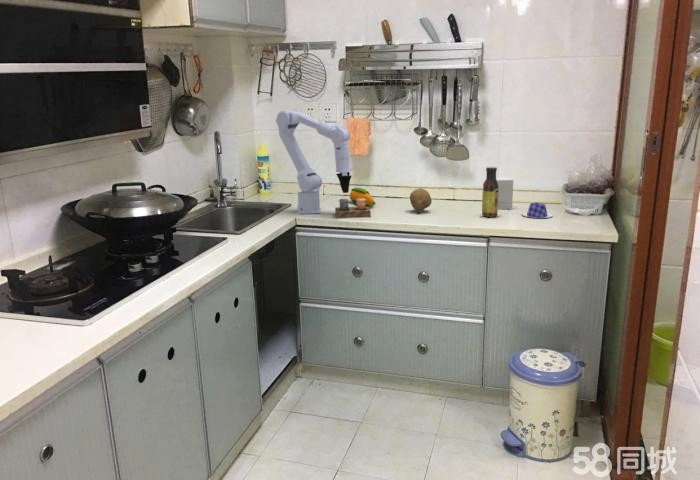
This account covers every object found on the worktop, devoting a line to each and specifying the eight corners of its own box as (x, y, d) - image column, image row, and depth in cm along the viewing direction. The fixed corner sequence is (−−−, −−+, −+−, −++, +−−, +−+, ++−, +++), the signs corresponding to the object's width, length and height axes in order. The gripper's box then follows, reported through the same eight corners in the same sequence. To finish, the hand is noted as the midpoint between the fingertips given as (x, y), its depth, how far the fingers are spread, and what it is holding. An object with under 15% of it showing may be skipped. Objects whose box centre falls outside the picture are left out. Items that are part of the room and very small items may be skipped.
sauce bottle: (497, 218, 236) (500, 168, 231) (481, 217, 237) (483, 168, 232) (497, 214, 242) (499, 166, 237) (481, 214, 243) (483, 166, 238)
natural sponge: (426, 208, 255) (427, 186, 252) (434, 213, 246) (435, 189, 244) (406, 210, 252) (407, 187, 250) (414, 214, 244) (414, 191, 241)
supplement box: (512, 209, 251) (514, 179, 248) (494, 209, 251) (496, 180, 248) (508, 205, 258) (509, 177, 255) (491, 205, 258) (492, 177, 255)
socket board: (336, 218, 241) (336, 212, 240) (335, 213, 249) (335, 207, 249) (370, 217, 242) (370, 211, 241) (368, 212, 250) (368, 206, 250)
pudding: (559, 217, 236) (560, 204, 235) (535, 221, 232) (536, 208, 230) (538, 211, 247) (539, 199, 245) (515, 215, 242) (516, 202, 241)
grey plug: (339, 210, 242) (339, 200, 241) (339, 208, 246) (338, 199, 245) (349, 210, 243) (349, 200, 242) (348, 208, 246) (348, 198, 245)
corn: (359, 183, 273) (380, 190, 256) (360, 199, 275) (382, 207, 258) (345, 186, 270) (365, 193, 253) (346, 202, 272) (367, 210, 255)
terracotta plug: (356, 209, 243) (356, 200, 242) (355, 207, 247) (355, 198, 246) (366, 209, 243) (366, 200, 242) (365, 207, 247) (365, 198, 246)
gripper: (353, 159, 233) (356, 193, 236) (350, 155, 247) (353, 188, 250) (335, 160, 232) (338, 194, 235) (333, 157, 246) (336, 189, 250)
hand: (345, 191), depth 243 cm, fingers open, 7 cm apart
